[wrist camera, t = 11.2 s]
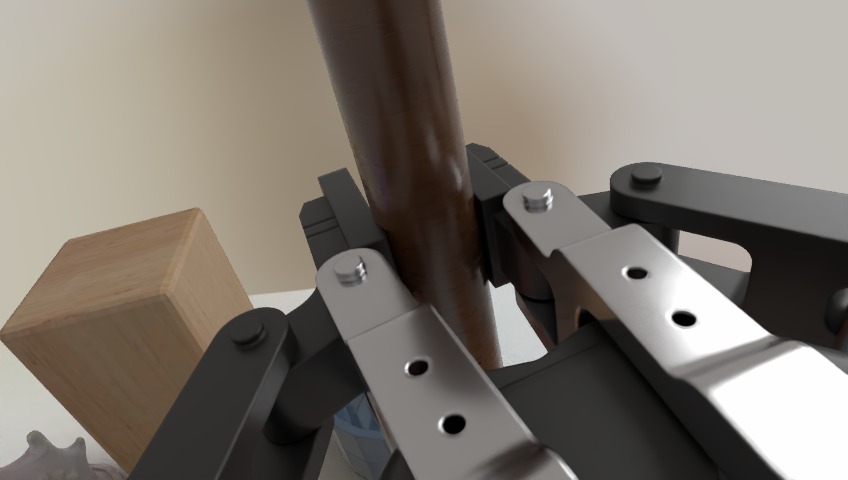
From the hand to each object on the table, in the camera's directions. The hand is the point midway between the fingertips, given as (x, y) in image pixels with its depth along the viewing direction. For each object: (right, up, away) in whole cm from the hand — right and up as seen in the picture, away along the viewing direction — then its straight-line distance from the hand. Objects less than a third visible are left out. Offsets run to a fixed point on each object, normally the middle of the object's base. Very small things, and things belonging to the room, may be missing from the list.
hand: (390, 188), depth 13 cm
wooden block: (-15, -19, +32) cm, 40 cm away
